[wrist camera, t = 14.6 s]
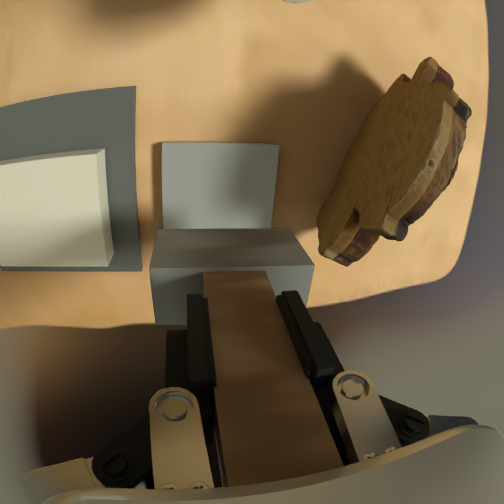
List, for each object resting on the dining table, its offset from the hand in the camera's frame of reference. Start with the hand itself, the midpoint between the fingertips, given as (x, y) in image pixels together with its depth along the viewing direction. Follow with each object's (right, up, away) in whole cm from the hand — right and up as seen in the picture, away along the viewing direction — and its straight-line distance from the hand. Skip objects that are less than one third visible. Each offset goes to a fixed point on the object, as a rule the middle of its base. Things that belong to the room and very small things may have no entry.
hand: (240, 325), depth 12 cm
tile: (-14, +9, +5) cm, 18 cm away
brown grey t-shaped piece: (-1, +3, +5) cm, 6 cm away
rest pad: (-2, +6, +11) cm, 13 cm away
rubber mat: (-15, +8, +8) cm, 18 cm away
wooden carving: (+9, +11, +11) cm, 18 cm away
